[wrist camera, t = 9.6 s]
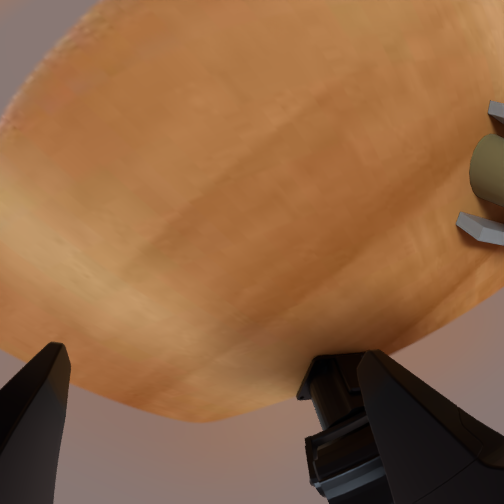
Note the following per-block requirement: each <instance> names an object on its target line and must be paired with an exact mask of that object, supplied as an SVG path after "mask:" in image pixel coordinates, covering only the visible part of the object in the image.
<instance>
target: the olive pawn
mask: <svg viewBox="0 0 504 504" xmlns="http://www.w3.org/2000/svg"><path fill="white" fill-rule="evenodd" d="M469 174H470V184H471V187H472V190H473V192H474V193H475V194H476V195H477V196H478V197H480V198H482V199H485V200H487V201H490V202H492V203H495V204H497V205H500V206H502V207H504V138H502V137H500V136H498V135H496V134H489V135H486V136H484V137H483V138H482V139H481V140H480V141H479V143H478V144H477V146H476V148H475V150H474V152H473V156H472V159H471V163H470V172H469Z"/></svg>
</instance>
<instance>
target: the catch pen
mask: <svg viewBox="0 0 504 504" xmlns="http://www.w3.org/2000/svg"><path fill="white" fill-rule="evenodd" d="M488 114H490V115H491V116H493V117H494V118H496V119H497V120H498V121H500V122H501V123H503V124H504V104H503V103H499V102H495V101H491V100H490V105H489V110H488ZM456 225H457V226H459V227H460V228H462V229H463V230H464V231H466V232H467V233H468V234H470V235H471V236H473V237H474V238H475V239H477V240H478V241H483V242H488V243H493V244H498V245H503V246H504V224H502V223H498V222H495V221H492V220H488V219H485V218H481V217H478V216H474V215H471V214H467V213H464V212H460V214H459V217H458V220H457V222H456Z"/></svg>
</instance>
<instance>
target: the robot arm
mask: <svg viewBox="0 0 504 504" xmlns="http://www.w3.org/2000/svg"><path fill="white" fill-rule="evenodd" d="M70 373H71V363H70V360H69V357H68V354H67V350H66V347H65V345H64V344H63V343H59V342H50V343H48V344H47V345H46V346H45V347H44V348H43V349H42V350H41V351H40V352H39V353H38V354H36V355H35V356H34V357H33V358H32V359H31V360H30V361H29V362H28V363H27V364H26V365H25V366H24V367H23V368H22V369H21V370H20V371H19V372H18V373H17V374H16V375H15V376H14V377H13V378H12V379H11V380H9V381H8V382H7V383H6V384H5V385H4V386H3V387H2V388H1V389H0V504H53V499H54V489H55V480H56V472H57V465H58V458H59V451H60V445H61V439H62V433H63V428H64V423H65V417H66V408H67V398H68V389H69V380H70ZM296 397H297V399H298V400H309V399H312V402H313V405H314V407H315V410H316V413H317V416H318V419H319V421H320V424H321V427H322V429H323V431H322V432H319V433H317V434H315V435H313V436H308V437H307V438H305V444H306V446H305V449H306V455H307V462H308V469H309V476H310V484H311V485H312V486H314V487H316V489H317V491H318V492H319V493H320V495H322V496H323V497H326V498H327V500H328V502H329V504H504V436H503V435H501V434H500V433H498V432H496V431H494V430H493V429H491V428H490V427H488V426H486V425H485V424H483V423H481V422H480V421H478V420H476V419H475V418H474V417H472V416H471V415H469V414H468V413H466V412H465V411H464V410H462V409H461V408H459V407H457V405H455V404H454V403H452V402H451V401H450V400H448V399H447V398H446V397H444V396H443V395H441V394H440V393H439V392H437V391H436V390H435V389H433V388H432V387H430V386H429V385H428V384H426V383H425V382H424V381H422V380H421V379H419V378H418V377H416V376H415V375H414V374H412V373H411V372H410V371H408V370H407V369H406V368H404V367H403V366H402V365H400V364H398V363H397V362H396V361H395V360H393V359H392V358H390V357H389V356H388V355H386V354H385V353H384V352H382V351H381V350H379V349H373V350H368V351H366V352H364V353H353V354H341V355H327V356H317V357H315V358H314V359H313V360H312V362H311V364H310V367H309V369H308V371H307V373H306V375H305V378H304V380H303V382H302V384H301V386H300V388H299V391H298V393H297V395H296Z"/></svg>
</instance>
